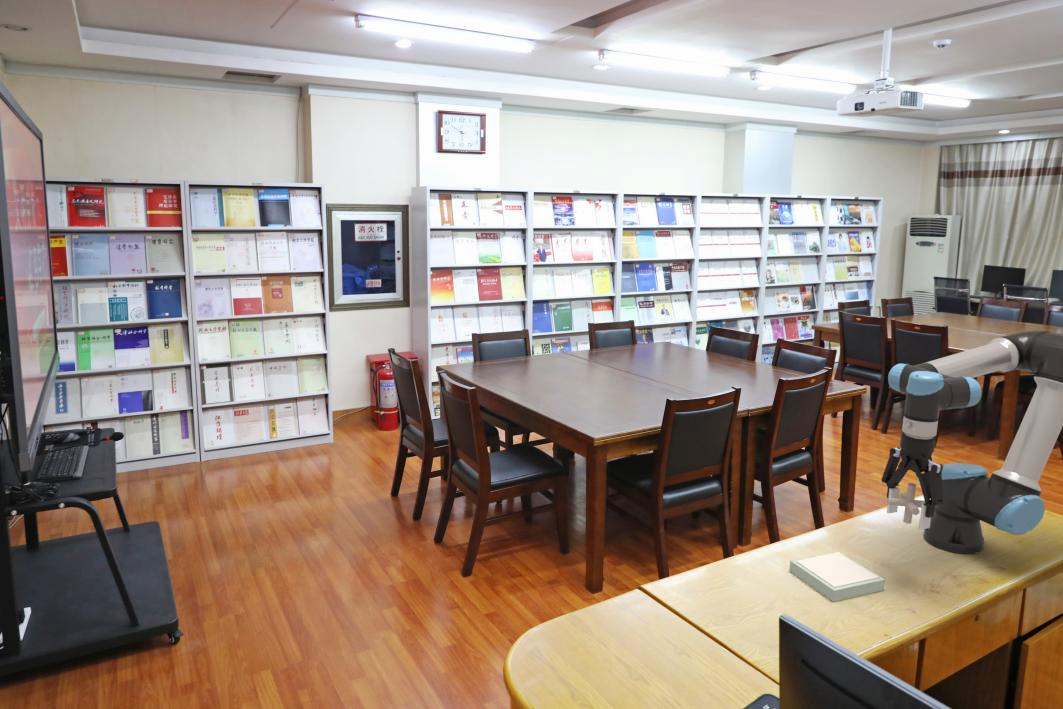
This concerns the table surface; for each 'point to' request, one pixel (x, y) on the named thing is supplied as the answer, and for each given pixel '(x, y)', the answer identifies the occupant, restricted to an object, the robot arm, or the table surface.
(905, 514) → the pipe connector
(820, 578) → the stand
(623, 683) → the table surface
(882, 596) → the table surface
